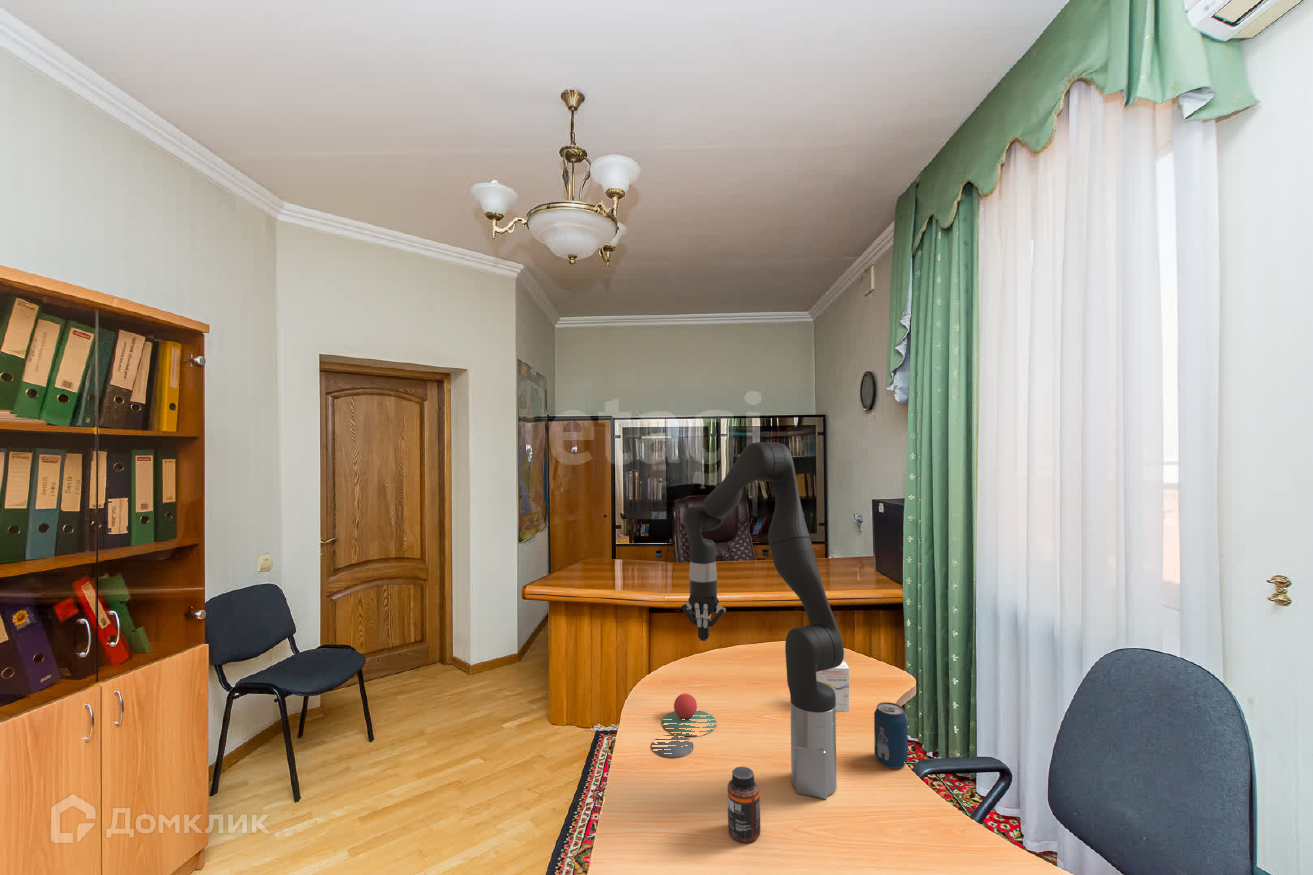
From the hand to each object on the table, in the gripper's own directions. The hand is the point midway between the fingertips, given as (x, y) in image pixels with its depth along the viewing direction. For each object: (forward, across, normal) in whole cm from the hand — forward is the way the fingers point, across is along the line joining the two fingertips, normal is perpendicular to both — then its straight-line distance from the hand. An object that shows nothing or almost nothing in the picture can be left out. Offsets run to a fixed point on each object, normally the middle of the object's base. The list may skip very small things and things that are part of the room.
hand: (703, 639), depth 160 cm
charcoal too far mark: (+17, 0, -25) cm, 30 cm away
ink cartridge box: (+17, +33, +9) cm, 38 cm away
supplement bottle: (+17, +23, -48) cm, 56 cm away
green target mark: (+17, 0, -13) cm, 21 cm away
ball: (+14, -2, -11) cm, 18 cm away
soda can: (+17, +48, -13) cm, 53 cm away
